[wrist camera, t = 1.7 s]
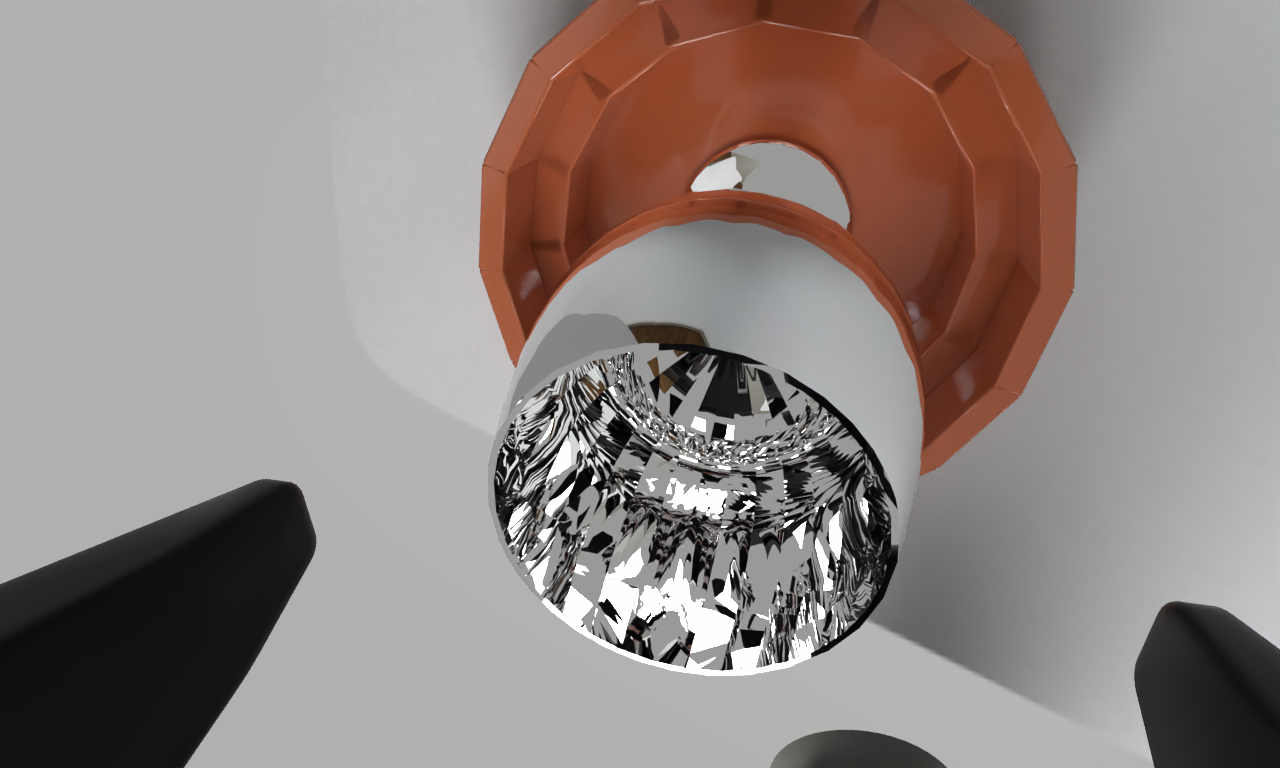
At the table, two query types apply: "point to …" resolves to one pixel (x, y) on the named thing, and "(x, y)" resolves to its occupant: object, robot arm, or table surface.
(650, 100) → the bowl
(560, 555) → the wineglass
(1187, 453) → the table surface
